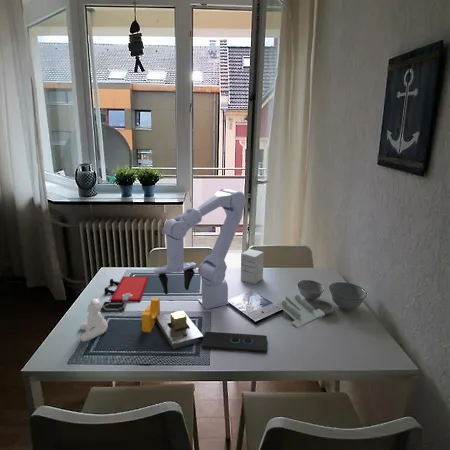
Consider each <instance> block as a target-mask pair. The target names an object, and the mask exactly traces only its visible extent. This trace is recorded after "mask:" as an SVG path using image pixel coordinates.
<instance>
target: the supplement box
mask: <svg viewBox="0 0 450 450" xmlns="http://www.w3.org/2000/svg"><path fill="white" fill-rule="evenodd" d="M264 256H265V254H264V251H260V250H256V249H251V248H249V249H247V250H245V251H243V252H242V253H241V255H240V281H242V282H246V283H249V284H253V285H256V284H257V283H259V282H260V281H261V280H263V279H264Z"/></svg>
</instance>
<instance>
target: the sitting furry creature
mask: <svg viewBox="0 0 450 450" xmlns="http://www.w3.org/2000/svg"><path fill="white" fill-rule="evenodd" d="M102 306H103V304H102V302H101V300H100V298H99V297H97V298H91V301H90V304H88V305H87V310H86V311H87V312H88V314H87V321H84V322H82V323H80V325H79V329H80V330H81V331H84V333H83V334H82V335H81V336H80V340H81V342H83V343H85V342H89V341H91V340H93V339H95V338H97V337H99V336H101V335H103V334H104V333H105V332H107V330H108V322H107V319H106V318H104V317H103V315H102V312H101V311H102V310H101V308H102Z"/></svg>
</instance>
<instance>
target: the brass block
mask: <svg viewBox="0 0 450 450" xmlns="http://www.w3.org/2000/svg"><path fill="white" fill-rule="evenodd" d="M183 311H184V310H180V311H175V313H174V312H171V328H170V329H171V331H172V332H177V331H181V330H185V329H187V322H186V315H187V314H186V313H185V314H186V315H185V314H184V313H183Z"/></svg>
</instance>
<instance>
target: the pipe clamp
mask: <svg viewBox="0 0 450 450" xmlns="http://www.w3.org/2000/svg"><path fill="white" fill-rule="evenodd" d="M160 304H161V300H160V298H159V297H151V299H150V305H147V306H146V308H145V310H144V311H142V313H141V328H142V329H141V331H142V332H144V333H151V331H152V329H153V328H154V325H155V324H156V323H157V322H156V317H157V316H161V305H160Z"/></svg>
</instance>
